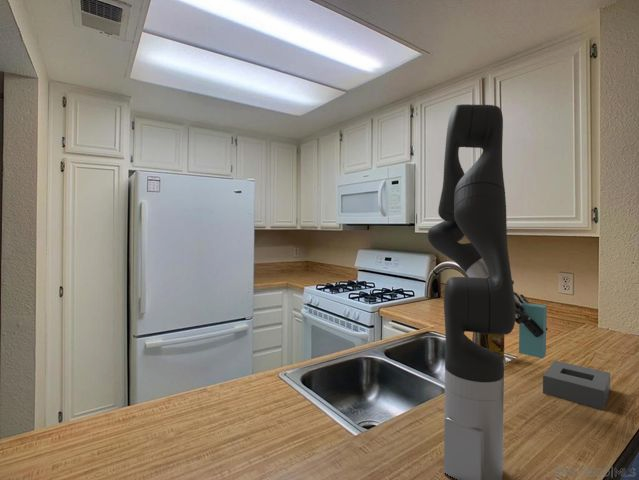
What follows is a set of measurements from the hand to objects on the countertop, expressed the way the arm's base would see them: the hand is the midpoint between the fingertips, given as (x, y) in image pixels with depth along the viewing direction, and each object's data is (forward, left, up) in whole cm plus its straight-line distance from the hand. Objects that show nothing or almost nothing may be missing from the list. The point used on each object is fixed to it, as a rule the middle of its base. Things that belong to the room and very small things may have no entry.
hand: (542, 333), depth 81 cm
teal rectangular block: (0, +2, -5) cm, 6 cm away
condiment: (+23, +19, -17) cm, 34 cm away
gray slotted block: (+13, -5, -17) cm, 22 cm away
